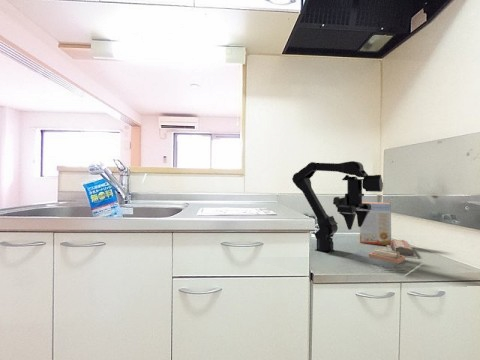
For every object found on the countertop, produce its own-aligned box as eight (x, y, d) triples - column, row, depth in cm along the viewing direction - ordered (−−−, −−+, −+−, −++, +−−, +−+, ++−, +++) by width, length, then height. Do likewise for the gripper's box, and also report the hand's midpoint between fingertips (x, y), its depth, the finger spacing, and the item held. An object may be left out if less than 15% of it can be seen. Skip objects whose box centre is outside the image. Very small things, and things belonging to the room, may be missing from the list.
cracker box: (391, 243, 134) (391, 202, 134) (390, 246, 129) (390, 203, 129) (361, 240, 141) (361, 201, 141) (359, 242, 136) (359, 202, 136)
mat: (343, 258, 109) (343, 257, 109) (360, 251, 119) (360, 250, 119) (391, 269, 96) (391, 267, 96) (405, 260, 106) (405, 259, 106)
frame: (368, 257, 109) (368, 253, 109) (376, 254, 114) (376, 250, 114) (398, 263, 101) (398, 259, 101) (405, 259, 106) (405, 256, 106)
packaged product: (386, 238, 128) (410, 239, 123) (386, 248, 128) (410, 250, 123) (390, 246, 111) (418, 249, 107) (390, 258, 111) (418, 261, 107)
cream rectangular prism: (395, 262, 103) (395, 254, 103) (374, 257, 109) (374, 250, 109) (399, 259, 106) (399, 252, 106) (378, 255, 112) (378, 248, 112)
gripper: (347, 190, 124) (347, 223, 124) (325, 191, 111) (325, 228, 111) (371, 190, 115) (371, 226, 115) (351, 192, 103) (351, 232, 103)
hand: (354, 228), depth 112 cm, fingers open, 9 cm apart
